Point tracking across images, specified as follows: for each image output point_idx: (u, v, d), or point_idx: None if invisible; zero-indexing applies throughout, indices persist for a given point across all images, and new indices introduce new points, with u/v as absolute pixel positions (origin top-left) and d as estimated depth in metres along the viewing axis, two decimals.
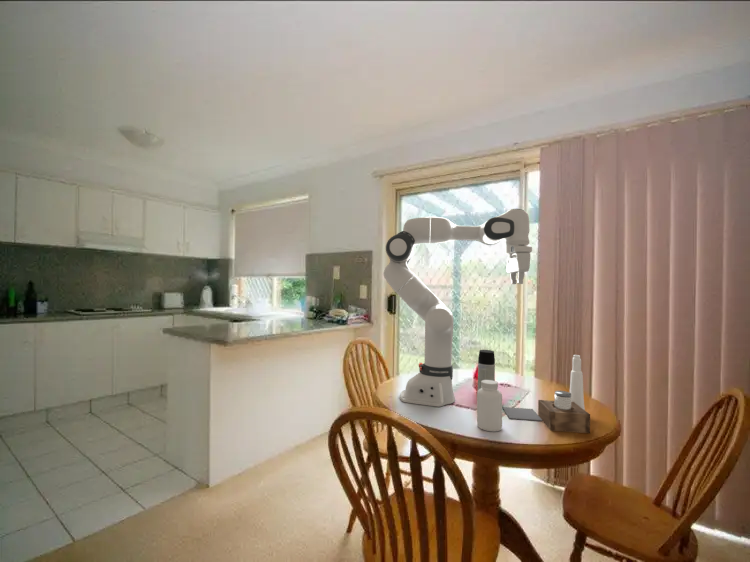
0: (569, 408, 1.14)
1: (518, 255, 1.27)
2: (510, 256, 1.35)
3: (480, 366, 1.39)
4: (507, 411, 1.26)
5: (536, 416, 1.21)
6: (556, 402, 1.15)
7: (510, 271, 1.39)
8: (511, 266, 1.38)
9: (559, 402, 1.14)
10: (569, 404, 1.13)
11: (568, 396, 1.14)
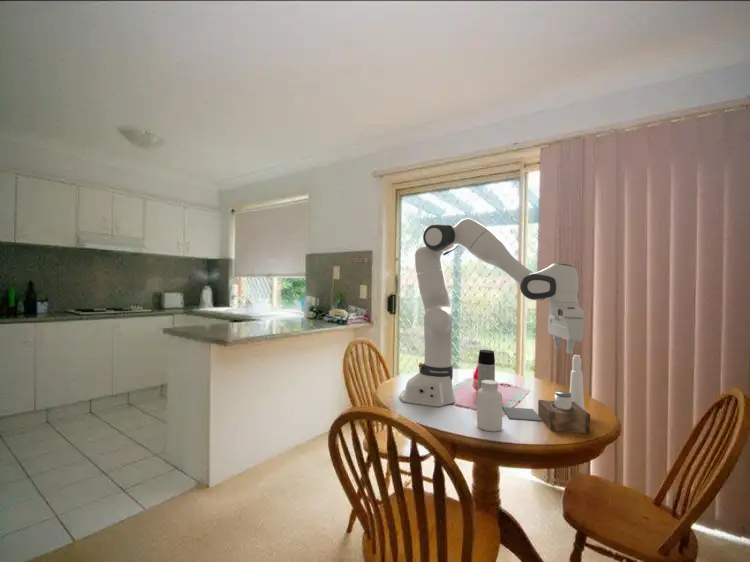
0: (569, 408, 1.14)
1: (569, 322, 1.07)
2: (556, 318, 1.15)
3: (480, 366, 1.39)
4: (507, 411, 1.26)
5: (536, 416, 1.21)
6: (556, 402, 1.15)
7: (554, 334, 1.19)
8: (556, 329, 1.18)
9: (559, 402, 1.14)
10: (569, 404, 1.13)
11: (568, 396, 1.14)
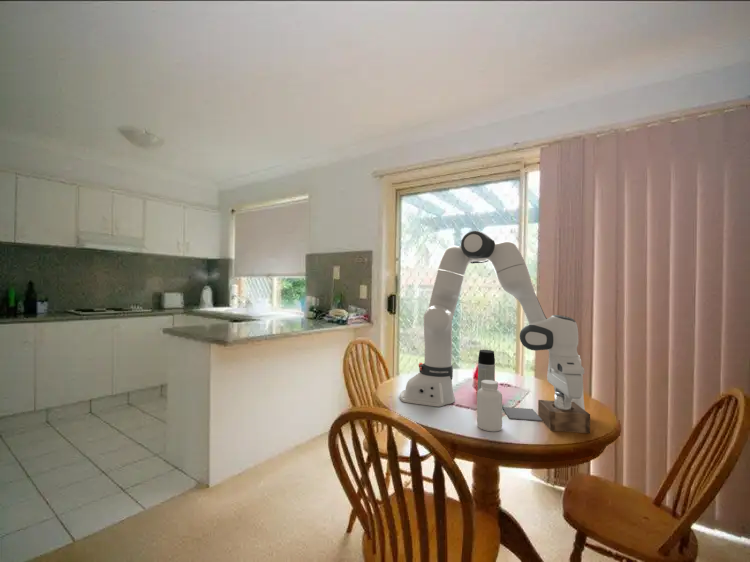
0: (569, 408, 1.14)
1: (568, 379, 1.07)
2: (555, 371, 1.15)
3: (480, 366, 1.39)
4: (507, 411, 1.26)
5: (536, 416, 1.21)
6: (556, 402, 1.15)
7: (554, 385, 1.19)
8: (555, 381, 1.18)
9: (559, 402, 1.14)
10: None
11: None
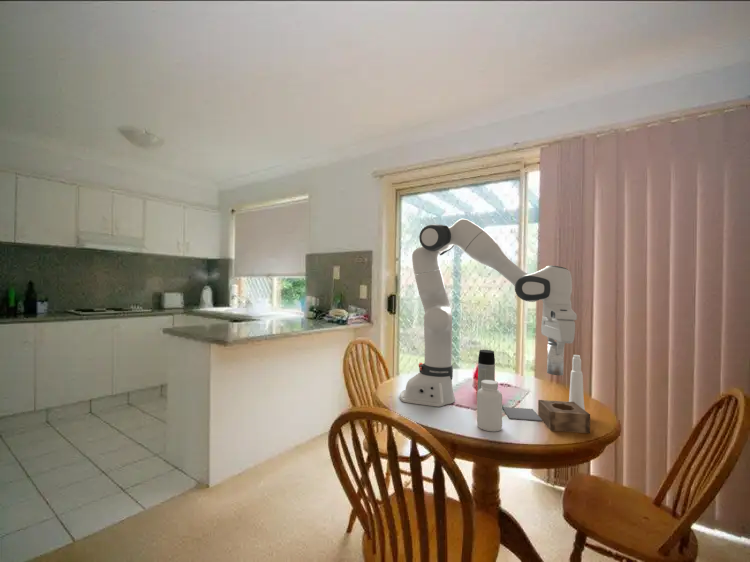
0: (562, 356, 1.15)
1: (561, 324, 1.09)
2: (548, 320, 1.17)
3: (480, 366, 1.39)
4: (507, 411, 1.26)
5: (536, 416, 1.21)
6: (549, 351, 1.17)
7: (547, 335, 1.21)
8: (549, 330, 1.19)
9: (552, 351, 1.16)
10: None
11: None
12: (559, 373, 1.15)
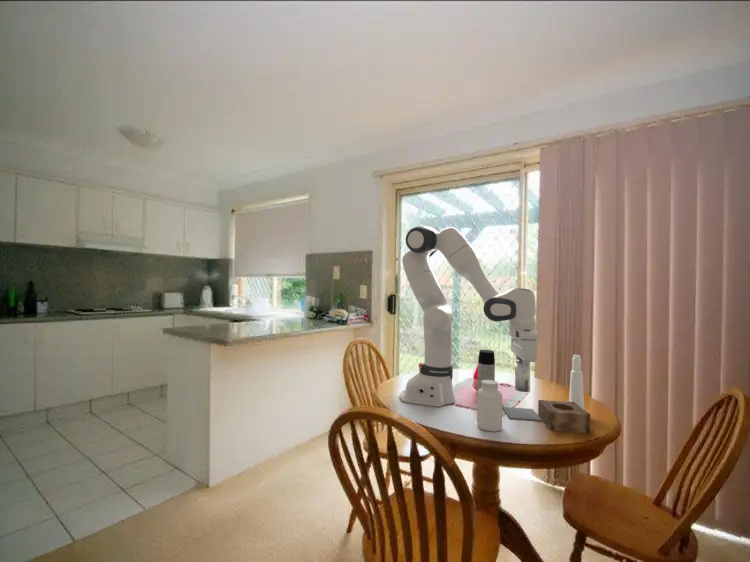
0: (527, 374, 1.22)
1: (524, 344, 1.16)
2: (515, 339, 1.24)
3: (480, 366, 1.39)
4: (507, 411, 1.26)
5: (536, 416, 1.21)
6: (516, 369, 1.24)
7: (515, 353, 1.28)
8: (516, 348, 1.26)
9: (518, 369, 1.23)
10: None
11: None
12: (526, 390, 1.22)
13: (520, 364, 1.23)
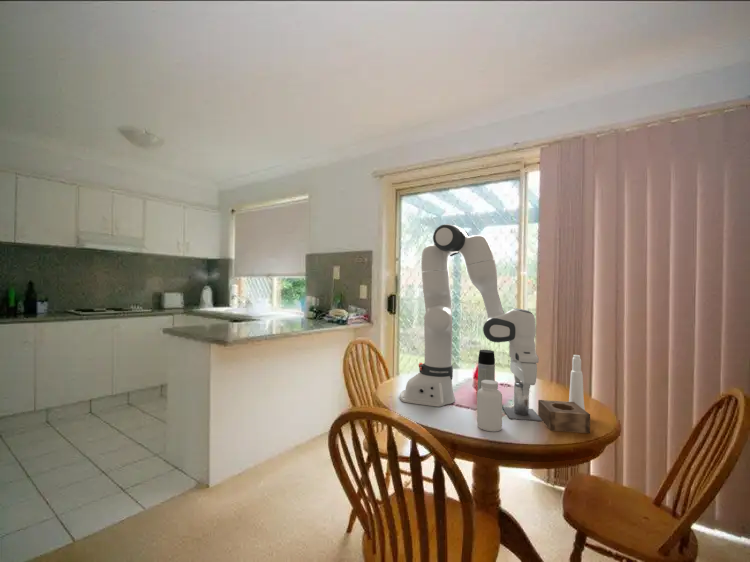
0: (526, 398, 1.22)
1: (523, 367, 1.16)
2: (514, 360, 1.24)
3: (480, 366, 1.39)
4: (507, 411, 1.26)
5: (536, 416, 1.21)
6: (515, 392, 1.24)
7: (514, 374, 1.28)
8: (515, 369, 1.26)
9: (517, 392, 1.23)
10: None
11: None
12: (524, 413, 1.22)
13: (519, 388, 1.23)
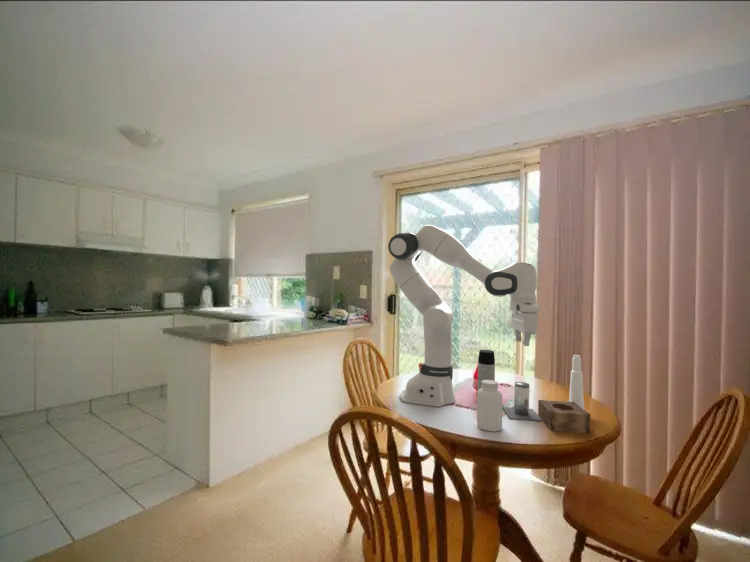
0: (527, 398, 1.22)
1: (524, 316, 1.16)
2: (515, 313, 1.24)
3: (480, 366, 1.39)
4: (507, 411, 1.26)
5: (536, 416, 1.21)
6: (515, 392, 1.24)
7: (515, 328, 1.28)
8: (516, 323, 1.26)
9: (518, 392, 1.23)
10: (526, 394, 1.22)
11: (526, 387, 1.22)
12: (524, 413, 1.22)
13: (520, 388, 1.22)
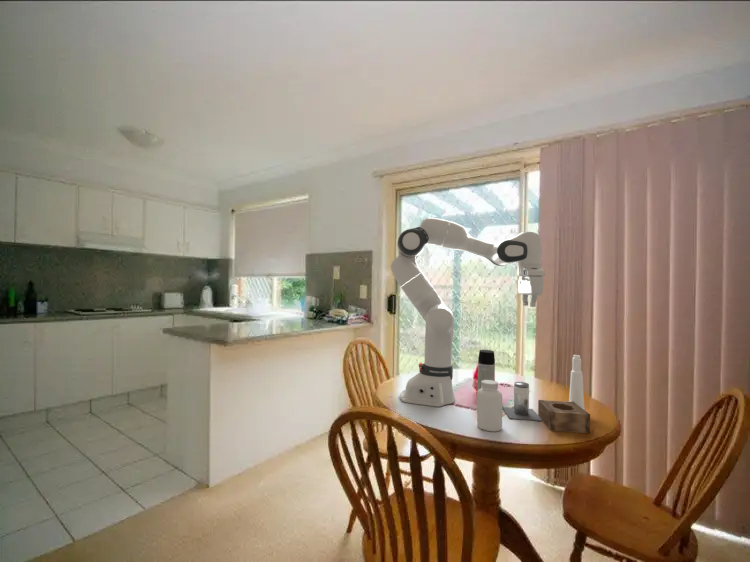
0: (527, 398, 1.22)
1: (531, 279, 1.28)
2: (522, 278, 1.36)
3: (480, 366, 1.39)
4: (507, 411, 1.26)
5: (536, 416, 1.21)
6: (515, 392, 1.24)
7: (522, 293, 1.40)
8: (523, 288, 1.39)
9: (518, 392, 1.23)
10: (526, 394, 1.22)
11: (526, 387, 1.22)
12: (525, 413, 1.22)
13: (519, 388, 1.22)
